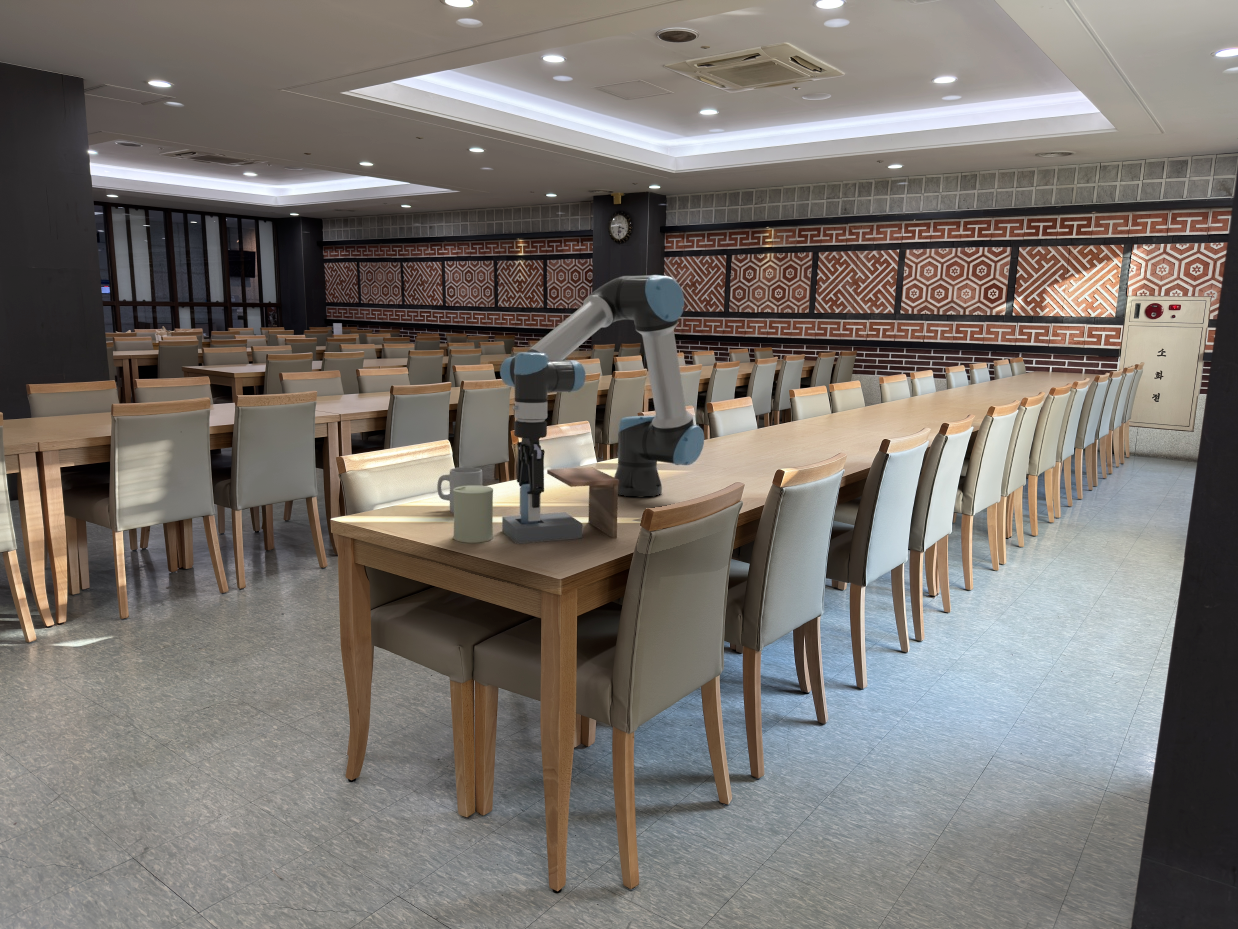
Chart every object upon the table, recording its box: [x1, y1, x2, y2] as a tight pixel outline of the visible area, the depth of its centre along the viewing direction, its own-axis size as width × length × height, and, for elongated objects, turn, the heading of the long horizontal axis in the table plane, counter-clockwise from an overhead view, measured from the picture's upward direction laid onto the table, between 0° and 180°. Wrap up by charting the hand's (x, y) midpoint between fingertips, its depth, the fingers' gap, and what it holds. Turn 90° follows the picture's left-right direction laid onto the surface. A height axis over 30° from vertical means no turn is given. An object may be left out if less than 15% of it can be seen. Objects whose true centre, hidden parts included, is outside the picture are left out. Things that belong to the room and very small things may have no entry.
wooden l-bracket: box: [546, 467, 619, 539], centre depth 200 cm, size 12×17×14 cm
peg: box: [521, 484, 538, 525], centre depth 195 cm, size 4×4×12 cm
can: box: [452, 485, 494, 544], centre depth 191 cm, size 9×9×12 cm
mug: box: [436, 466, 483, 514], centre depth 218 cm, size 12×8×11 cm
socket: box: [501, 511, 583, 544], centre depth 197 cm, size 16×12×4 cm
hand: (529, 517), depth 195 cm, fingers open, 6 cm apart
